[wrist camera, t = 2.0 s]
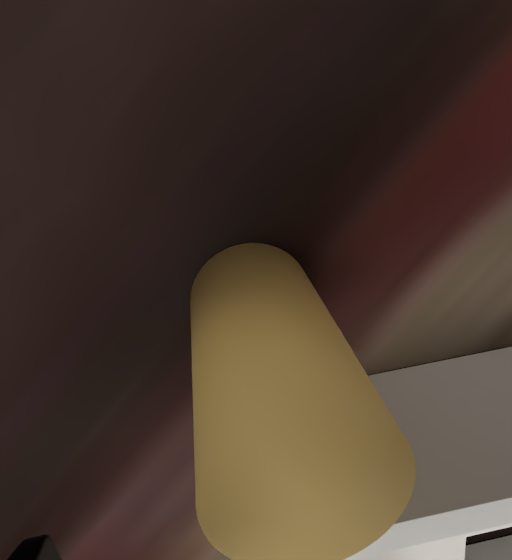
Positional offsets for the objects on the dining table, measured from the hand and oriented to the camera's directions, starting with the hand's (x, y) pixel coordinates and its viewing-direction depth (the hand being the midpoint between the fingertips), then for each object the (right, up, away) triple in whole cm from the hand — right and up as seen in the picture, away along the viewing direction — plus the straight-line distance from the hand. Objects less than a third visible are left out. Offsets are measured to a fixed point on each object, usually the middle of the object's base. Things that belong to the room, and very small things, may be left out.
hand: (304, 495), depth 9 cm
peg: (-1, +3, +7) cm, 8 cm away
